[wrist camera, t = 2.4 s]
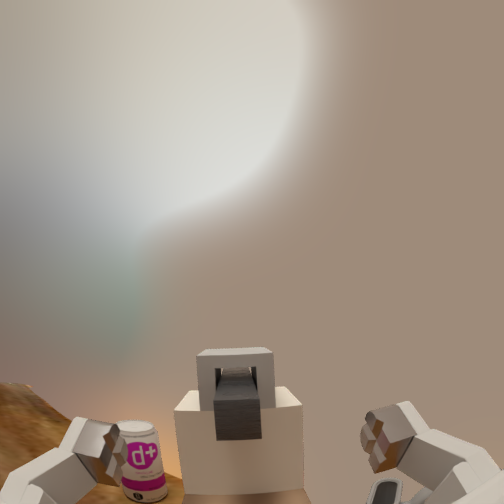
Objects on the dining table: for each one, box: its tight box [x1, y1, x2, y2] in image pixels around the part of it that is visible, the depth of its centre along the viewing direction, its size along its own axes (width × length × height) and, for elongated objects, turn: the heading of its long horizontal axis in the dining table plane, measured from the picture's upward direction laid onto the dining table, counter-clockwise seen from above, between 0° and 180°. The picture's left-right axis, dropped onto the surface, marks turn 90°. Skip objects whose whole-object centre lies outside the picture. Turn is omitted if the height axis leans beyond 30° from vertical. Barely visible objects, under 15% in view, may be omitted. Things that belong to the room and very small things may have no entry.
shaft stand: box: [174, 347, 304, 495], centre depth 26 cm, size 12×10×29 cm
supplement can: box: [115, 420, 168, 503], centre depth 38 cm, size 8×8×15 cm
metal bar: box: [213, 367, 262, 441], centre depth 26 cm, size 3×20×3 cm, turn 3°
